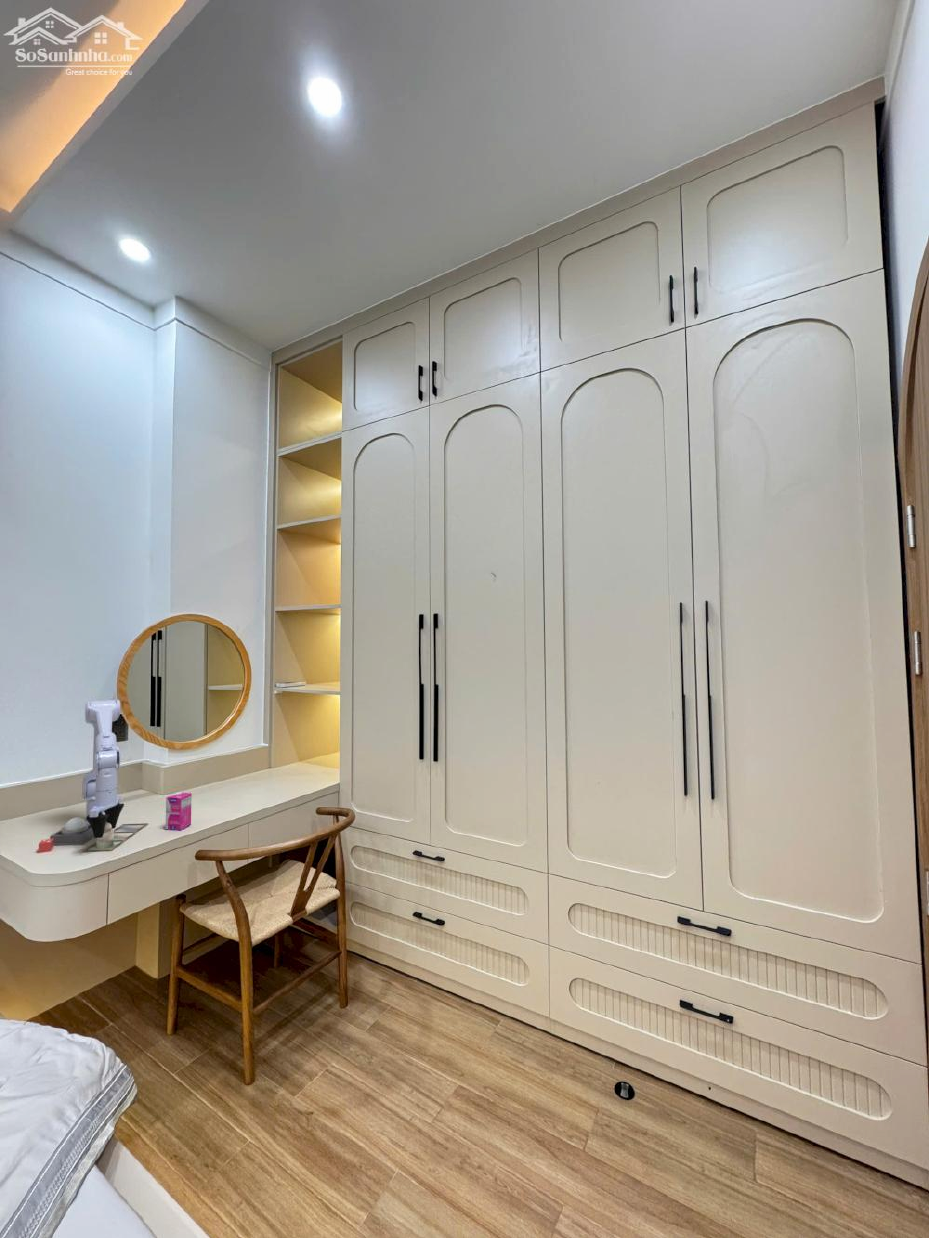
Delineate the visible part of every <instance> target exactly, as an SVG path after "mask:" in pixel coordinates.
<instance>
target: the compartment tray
mask: <svg viewBox="0 0 929 1238" xmlns="http://www.w3.org/2000/svg"><path fill="white" fill-rule="evenodd" d="M148 825H149V823H147V822H146V823H123V824H121V825H119V826H117V827H115V829H113V830H114V845H113V846H112V847H109V848H105V849H97V848H96V847H97V841H95V842H94V843H92V844H91V845H89V846H88V847H87V848H84V849H83V850H82V853H96V852H98V853H100V852H113V851H114V850H115V849H117V848H118V847H120V846H121V845H122V844H124V843H125V842H127V841H128V840H129V839H130V838H132V837H133V836H135V835H136V834H137V833H139V832H140V831H141V830H143V829H144V828H145V827H147V826H148Z"/></svg>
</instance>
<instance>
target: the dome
mask: <svg viewBox="0 0 929 1238" xmlns="http://www.w3.org/2000/svg"><path fill="white" fill-rule="evenodd" d="M61 830H62V835H69V834H82V833H84V832H85V831H87V830H88V824H86V819H84V818H81V817H76V816H75V817H73V818H71V819H69V820H68V821H67V822H66V823H65V825H64V827H63V828H61Z"/></svg>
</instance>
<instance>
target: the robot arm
mask: <svg viewBox="0 0 929 1238" xmlns="http://www.w3.org/2000/svg"><path fill="white" fill-rule="evenodd" d="M84 709H85V712H84V713H85V714H84V716H85V719H84V721H85V723H86V724H91V725H92V726H91V727H93V748H92V749H93V750H92V769H91V770H90V771H89V772H87V773H86V774H85V775H84V776H83V777H82V784H81V798H82V799H84V800H86V803H85V804H86V805H85V806H86V808H85V810H86V811H85V822H86V824H88V825H91V828H92V831H93V835H94V838H93V839H97V838H102V837H103V835H104V829H105V824H106V823H110V824H111V825H112V829H113V830H115V829H116V828H117V824H118V820H119V817H120V814H121V812H122V810H123V808H124V806H125V804H124V803H121V802H122V801H121V800H122V796H121V795H119V796H118V782H119V781H118V776H119V775H118V774H119V773H118V771H119V769H118V768H119V767H120V764H121V753H120V752H121V751H120V749H119V747H118V742H117V740H118V739H117V735H116V734H115V733H114V732H113V731H112V728H113V722H115V721H118V719H119V717H120V715H121V701H120V700H119V699H117V698H116V699H110V700H91V701H90V700H87V701H86V702H85V708H84Z"/></svg>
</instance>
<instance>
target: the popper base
mask: <svg viewBox="0 0 929 1238" xmlns="http://www.w3.org/2000/svg"><path fill="white" fill-rule="evenodd" d="M49 839H54V846H53V847H58V846H60V847H64V846H65V847H66V846H83V845H85V844H86V843H88V842H89V841H91V840H93V839H95V838H94V835H93V831H92V828H91V825H88V830H87V831H85V832H84V833H82V834H69V835H62V829H60V830H58V831H56V832H55V833H52V834H51V835H50V837H49Z"/></svg>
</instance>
